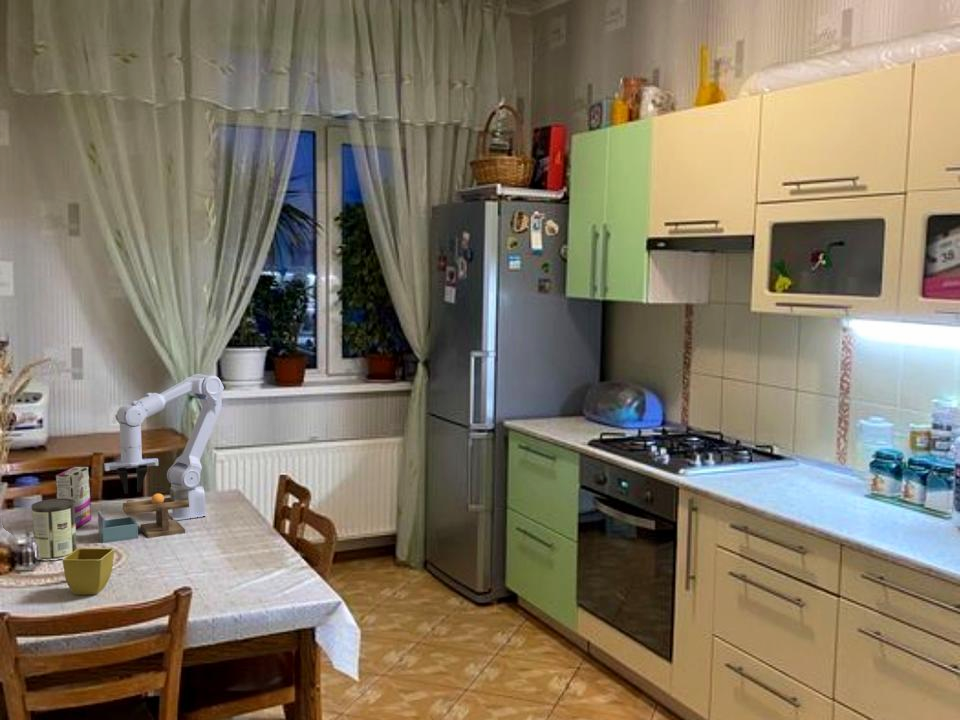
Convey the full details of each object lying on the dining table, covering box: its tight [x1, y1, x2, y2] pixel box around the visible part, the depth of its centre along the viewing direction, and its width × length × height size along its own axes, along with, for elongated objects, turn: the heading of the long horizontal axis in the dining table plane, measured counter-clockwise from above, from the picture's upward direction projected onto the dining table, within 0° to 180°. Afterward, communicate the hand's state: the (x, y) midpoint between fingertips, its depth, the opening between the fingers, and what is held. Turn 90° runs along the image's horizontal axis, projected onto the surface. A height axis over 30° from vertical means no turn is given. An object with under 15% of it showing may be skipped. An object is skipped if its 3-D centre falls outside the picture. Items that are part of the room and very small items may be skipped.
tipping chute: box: [122, 486, 189, 516], centre depth 258 cm, size 17×12×5 cm
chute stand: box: [139, 507, 186, 539], centre depth 256 cm, size 10×12×8 cm
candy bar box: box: [55, 466, 92, 530], centre depth 261 cm, size 11×5×16 cm, turn 179°
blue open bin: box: [97, 510, 139, 544], centre depth 250 cm, size 9×9×7 cm
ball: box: [150, 493, 165, 504], centre depth 255 cm, size 4×4×4 cm
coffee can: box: [31, 498, 78, 560], centre depth 233 cm, size 10×10×14 cm
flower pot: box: [62, 547, 115, 596], centre depth 206 cm, size 9×9×9 cm
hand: (132, 492), depth 259 cm, fingers open, 3 cm apart
